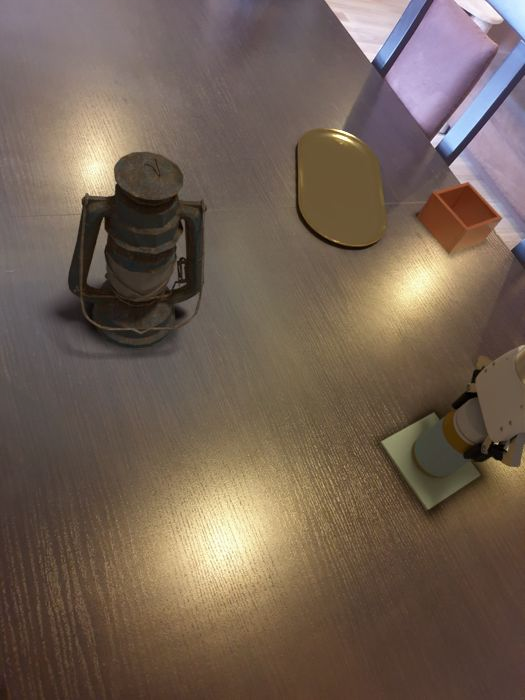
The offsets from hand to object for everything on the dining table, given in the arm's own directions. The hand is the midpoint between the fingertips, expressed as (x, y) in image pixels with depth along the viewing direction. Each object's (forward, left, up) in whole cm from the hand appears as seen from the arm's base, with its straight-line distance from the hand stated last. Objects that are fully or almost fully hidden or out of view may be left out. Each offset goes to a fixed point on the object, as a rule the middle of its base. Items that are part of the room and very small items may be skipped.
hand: (467, 431), depth 80 cm
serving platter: (-22, -56, -11) cm, 61 cm away
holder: (-40, -38, -11) cm, 56 cm away
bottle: (0, 0, -10) cm, 10 cm away
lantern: (+31, -41, -11) cm, 53 cm away
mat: (0, 0, -11) cm, 11 cm away
